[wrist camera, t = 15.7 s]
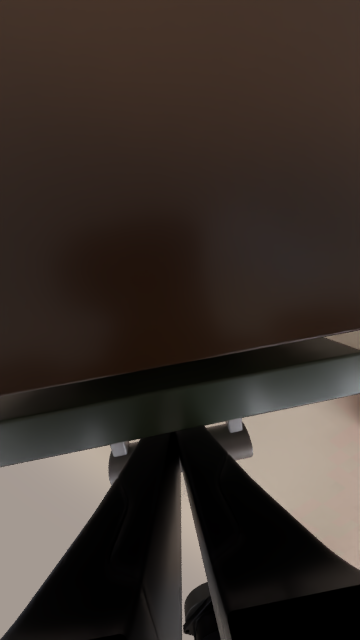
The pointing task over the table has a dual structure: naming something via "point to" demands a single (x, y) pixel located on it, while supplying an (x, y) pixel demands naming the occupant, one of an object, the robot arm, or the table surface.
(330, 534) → the table surface
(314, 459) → the table surface
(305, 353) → the drawer
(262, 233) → the cabinet
